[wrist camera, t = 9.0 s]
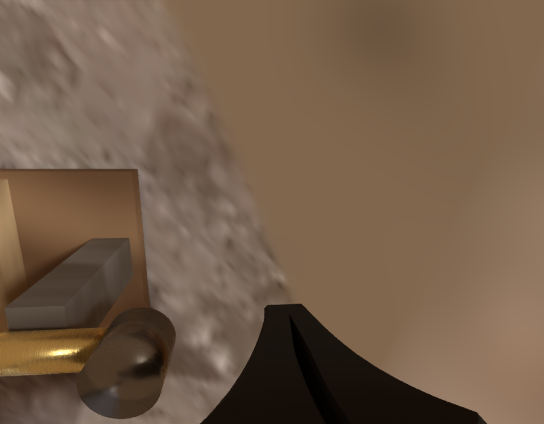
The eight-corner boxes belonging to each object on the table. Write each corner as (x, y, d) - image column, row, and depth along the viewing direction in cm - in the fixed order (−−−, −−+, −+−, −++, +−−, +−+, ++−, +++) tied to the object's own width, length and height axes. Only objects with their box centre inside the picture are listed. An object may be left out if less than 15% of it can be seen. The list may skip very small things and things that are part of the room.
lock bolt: (178, 361, 13) (164, 415, 10) (-77, 374, 12) (-157, 437, 10) (174, 304, 12) (158, 349, 10) (-95, 314, 11) (-186, 366, 9)
